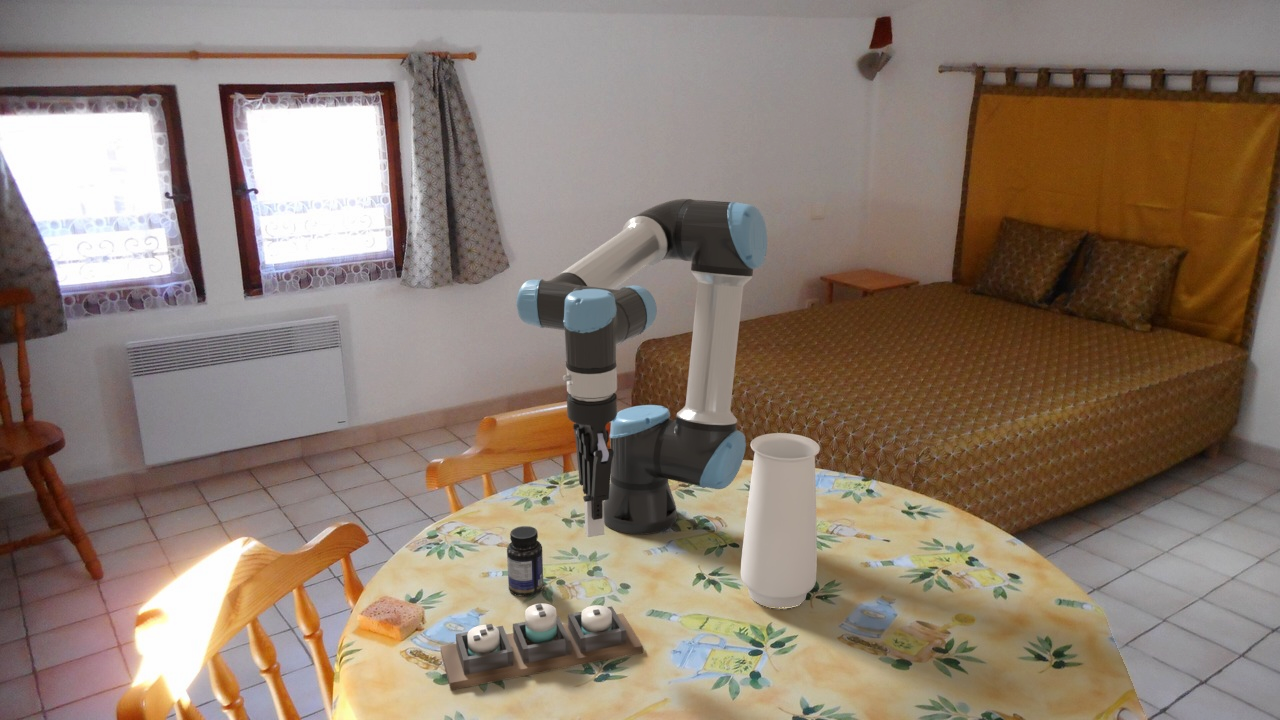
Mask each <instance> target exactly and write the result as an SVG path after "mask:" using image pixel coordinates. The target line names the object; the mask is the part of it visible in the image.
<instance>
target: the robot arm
mask: <svg viewBox="0 0 1280 720" xmlns="http://www.w3.org/2000/svg"><path fill="white" fill-rule="evenodd" d="M767 231H768V230H767V226H766V222H765V220H764V216H763V214H762V212H761V211H760V210H759V208H757V206H755V205H752V204H750V203H749V204H747V203H744V202H743V203H741V202H737V201H720V200H719V201H718V200H703V199H693V198H678V199H677V198H676V199H673V200H672V199H671V200H668V201H664V202H662V203H659V204H657V205H655V206H652V207H649V208H647V209H646V210H643V211H641V212H639V213H638V214H636V215H635V216H633V217H631V218H630V219H629V220H628V221H626V222H625V224H624V225H623V227H622V230H621V231H620V232H619V233H618V234H616V235H615V236H614V237H612V238H610V239H608V240H607V241H606V242H604V243H603V244H601V245H600V246H598V247H596V249H594V250H593V251H591V252H590V253H588V254H586V255H585V256H584V257H583V258H580V259H579V260H578V261H576V262H575V263H573V264H572V265H570V266H569V267H567V268H566V269H565V270H564V271H562V272H560V273H559V274H557V275H556V276H555V277H553V278H551V279H550V280H549V279H548V280H544V279H542V278H539V279H529V280H526V281H525V282H524V283H523V284H522V285H521V286H520V288H519V289H518V290H519V291H518V293H517V296H516V301H515V302H516V308H517V311H516V312H517V315H518V317H519V319H520V321H522V322H523V323H524V324H526V325H531V326H534V327H539V328H541V329H552V330H559V331H564V345H565V369H566V374H565V375H562V379H563V381H564V382H566V392H567V393H568V394H567V395H566V411H567V412H566V415H567V418H568V419H569V421H571V422H572V423H573V426H572V427H573V428H572V429H573V432H574V436H575V437H574V438H575V446H576V447H575V448H576V459H577V469H578V470H577V471H578V477H579V478H578V479H579V481H578V483H579V485H580V486H582V492H583V494H584V495H583V496H582V498H583V501H584V502H583V503H584V532H585V533H584V534H585V535H586V537H587V538H592V537H598V536H604V535H605V525H606V526H607V527H608V528H609V529H612V530H614V531H616V532H620V533H624V534H631V535H648V534H655V533H660V532H663V531H665V530H667V529H669V528H671V527H673V525H674V524H675V523H676V521H677V505H676V501H675V498H674V496H673V494H672V493H673V492H672V490H671V486H670V484H669V480H671V481H675V482H678V483H679V482H680V483H683V484H689V485H693V486H697V487H700V488H702V489H706V488H708V489H712V490H713V489H714V490H724V489H725V488H726V489H727V487H729V486H730V485H731V484H732V483H733V481H734V480H735V479H736V477H737V476H738V473H739V471H740V469H741V467H742V463H743V460H744V457H745V452H746V448H747V447H746V445H747V442H746V436H745V434H744V433H743V432H741V431H740V430H737V425H738V419H737V418H736V416H735V415H734V414H733V412H732V411H731V410H732V409H731V406H732V395H733V394H732V393H733V386H734V385H733V384H734V377H735V369H736V357H737V349H738V339H739V329H740V320H741V310H742V303H743V302H742V301H743V294H744V287H745V285H746V284H747V283H748V282H749V281H751V279H753V275H754V274H753V273H754V270H755V269H759V268H761V267H762V266H763V264H764V262H765V260H766V258H765V257H766V256H767V252H768V232H767ZM664 260H674V261H675V260H676V261H677V260H678V261H685V262H691V265H690V266H691V267H690V273H691V275H693V276H694V278H695V279H696V282H697V287H696V299H695V307H694V316H693V317H694V318H693V327H692V339H691V348H690V357H689V368H688V377H687V385H686V386H687V388H686V395H685V396H686V398H685V399H686V400H685V405H684V407H683V408H681V409H680V410H679V411H677V413H676V417H675V419H672V418H670V417H671V413H670V409H668V408H667V407H665V406H663V405H659V404H658V405H656V404H645V405H644V404H643V405H635V406H630V407H627V408H624V409H621V410H619V411H618V398H617V394H616V392H617V390H618V370H617V369H618V367H617V346H618V345H620V344H621V345H622V343H624V342H626V341H628V340H630V339H633V338H634V337H636V336H639V335H642V333H643V332H644V331H645V330H647V329H648V328H650V327H651V326H652V325H653V324H654V322H655V320H656V318H657V315H658V314H657V313H658V307H657V302H656V300H655V298H654V296H653V295H652V294H651V292H650V291H649V290H647V288H645V287H643V286H640V285H628V286H623V287H621V288H620V289H617V288H618V287H619V286H621V285H622V284H623V283H624V282H625V281H627V280H628V279H629V278H631V277H632V276H633V275H635V274H636V273H637V272H639V271H640V270H641V269H643V268H645V266H654V265H656V264H659V263H660V262H661V261H664ZM609 423H610V431H609V430H607V428H606V426H607V424H609ZM609 441H610V445H609V447H610V448H608V443H609Z"/></svg>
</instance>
